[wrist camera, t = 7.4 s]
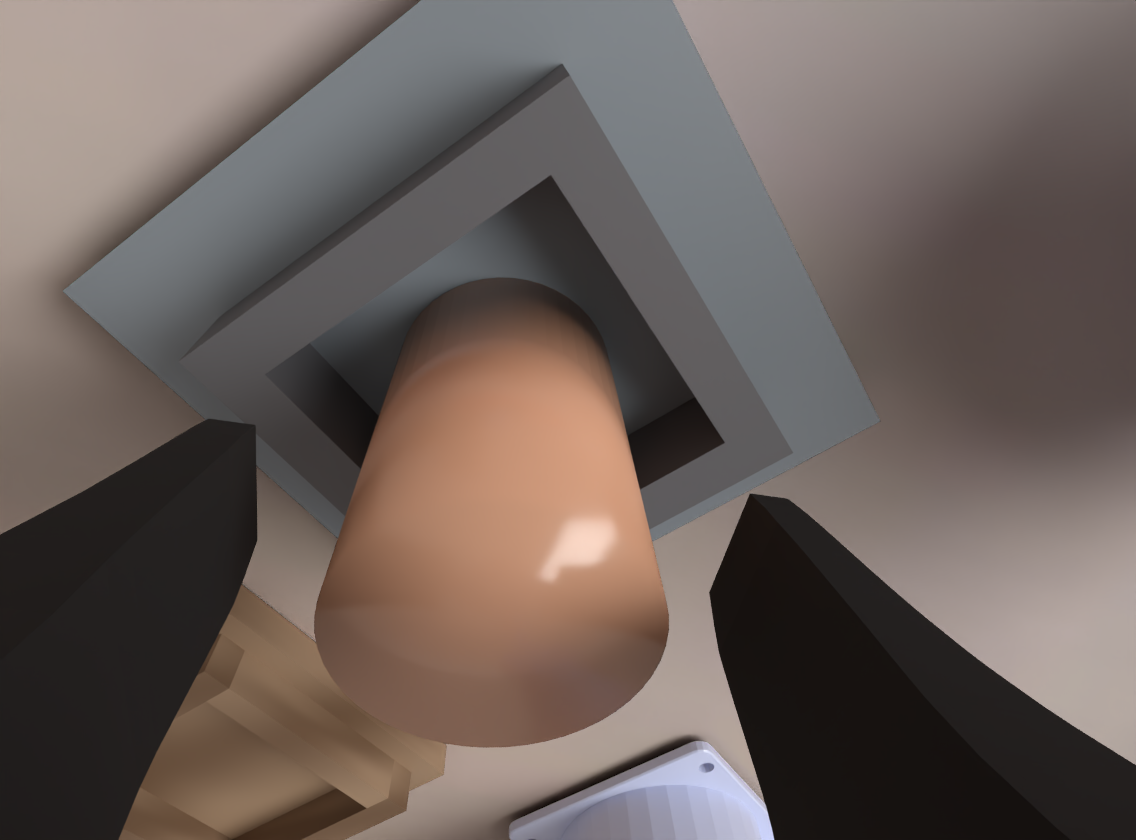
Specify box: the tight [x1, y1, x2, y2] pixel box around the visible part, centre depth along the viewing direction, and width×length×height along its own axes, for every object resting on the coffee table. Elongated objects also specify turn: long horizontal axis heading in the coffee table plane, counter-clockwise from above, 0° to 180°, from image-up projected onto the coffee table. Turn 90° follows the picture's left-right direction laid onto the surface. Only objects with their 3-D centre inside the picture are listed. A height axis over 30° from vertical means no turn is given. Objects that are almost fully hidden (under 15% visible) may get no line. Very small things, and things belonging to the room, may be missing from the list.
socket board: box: [63, 0, 880, 541], centre depth 14 cm, size 12×12×3 cm
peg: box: [314, 278, 669, 747], centre depth 12 cm, size 4×4×7 cm
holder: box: [119, 584, 446, 840], centre depth 21 cm, size 9×9×2 cm
